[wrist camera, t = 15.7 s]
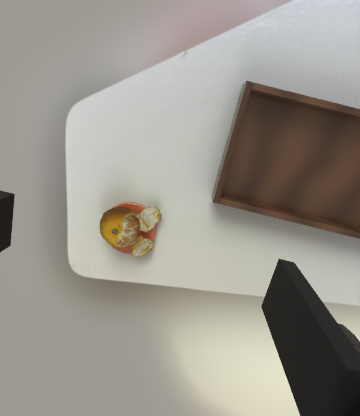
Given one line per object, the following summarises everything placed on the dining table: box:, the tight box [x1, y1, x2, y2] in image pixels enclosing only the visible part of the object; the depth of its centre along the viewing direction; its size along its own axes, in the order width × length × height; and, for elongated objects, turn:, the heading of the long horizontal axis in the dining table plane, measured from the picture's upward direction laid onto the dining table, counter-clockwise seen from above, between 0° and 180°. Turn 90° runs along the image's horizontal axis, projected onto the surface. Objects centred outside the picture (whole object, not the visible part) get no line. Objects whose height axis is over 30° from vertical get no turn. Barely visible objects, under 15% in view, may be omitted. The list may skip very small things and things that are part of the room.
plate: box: [112, 202, 156, 253], centre depth 44 cm, size 8×8×1 cm
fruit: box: [100, 206, 161, 257], centre depth 42 cm, size 8×8×4 cm
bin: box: [212, 81, 360, 238], centre depth 39 cm, size 25×16×3 cm, turn 77°
